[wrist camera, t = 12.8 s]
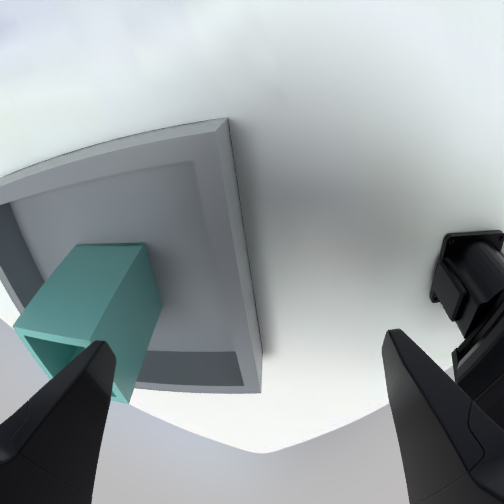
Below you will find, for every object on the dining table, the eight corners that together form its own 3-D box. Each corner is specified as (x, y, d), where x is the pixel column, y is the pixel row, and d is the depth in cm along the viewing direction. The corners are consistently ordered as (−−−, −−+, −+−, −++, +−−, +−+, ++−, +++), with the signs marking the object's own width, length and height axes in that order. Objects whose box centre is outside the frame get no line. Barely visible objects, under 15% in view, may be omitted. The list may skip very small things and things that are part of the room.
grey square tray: (227, 117, 16) (215, 131, 13) (262, 351, 27) (261, 393, 23) (-1, 178, 18) (-35, 201, 15) (82, 346, 29) (66, 377, 25)
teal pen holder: (144, 242, 20) (89, 340, 13) (162, 307, 23) (128, 403, 16) (76, 244, 21) (12, 326, 13) (99, 303, 24) (56, 386, 16)
